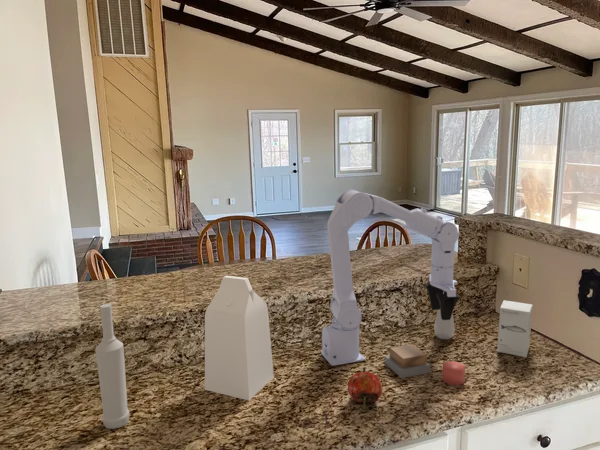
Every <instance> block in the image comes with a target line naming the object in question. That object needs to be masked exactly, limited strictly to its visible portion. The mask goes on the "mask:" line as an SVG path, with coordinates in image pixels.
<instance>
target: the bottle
mask: <svg viewBox="0 0 600 450" xmlns="http://www.w3.org/2000/svg"><path fill="white" fill-rule="evenodd" d="M112 309H113V307H112V304H111V303H106V304H101V305H100V306H99V310H100V317H101V319H100V320H101V327H102V338H101V342H100V343H98V345H96V346H95V357H96V366H97V367H96V368H97V373H98V381H99V389H100V390H99V391H100V397H101V398H100V399H101V407H102V413H103V414H102V418H101V419H102V424H103V426H104V427H105V428H106V429H109V430H111V429H112V430H115V429H119V428H121V427H124V426H126V424H127V423H128V422H129V420H130V419H129V418H130V410H129V408H128V398H127V396H128V395H127V383H126V382H127V380H126V366H125V351H124V343H123V342H122V341H120V340H118V338H117V337H116V336H115V334H114V324H113V310H112Z"/></svg>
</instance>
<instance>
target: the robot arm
mask: <svg viewBox="0 0 600 450" xmlns="http://www.w3.org/2000/svg"><path fill="white" fill-rule="evenodd" d="M379 213H382V214H385V215H387V216H391V217H393V218H395V219H398V220H400V221H403V222H405V225H406V227H407V229H408V230H411V231H413V232H416V233H418V234H420V235H422V236H425V237H427V238H430V239H431V259H430V264H431V265H430V274H428V282H429V283H424V288H426V291H427V294H428V297H429V301H430V302H429V303H430V307H431V310H432V311H438V310H440V312H441V318H442V320H450V319H451V316H452V314H453V313H454V309H455V306H456V304H457V302H458V301H459V300H460V298H461V296H460V295H459V294H458V293H457V289H456V287H455V285H458V281H457V280H455V279H454V266H455V263H454V262H455V248H456V247H455V245H456V242H457V241H458V240H459V238H460V234H461V233H460V232H459V230H458V227H457V226H456V224H454V223H453V222H451V221H448V220H444V219H443V216H441V215H437V216H436V215H433V214H432V213H429V212H428V210H427V209H425V208H423V207H421V208H418V207H417V208H414V209H411V210H409V209H408V208H405V207H403V206H400V204H396V203H395V202H392V201H390V200H388V199H386V198H384V197H381V196H378V195H375V194H370V193H367V192H363V191H362V192H360V191H358V190H357V189H351V188H350V189H347V190H345V191H344V192H343V193H342V194H341V195H339V196H338V198H337V199H336V200H335V205H334V207H333V210H332V211H331V213H330V216H329V218H328V220H327V227H326V228H327V235H328V236H327V237H328V246H329V253H330V254H329V255H330V265H331V272H332V273H331V276H332V284H333V290H332V292H331V293H332V298H331V301H330V306H329V309H330V312H331V314H332V315H333V318H332V320H331V324H330V325H328V326H326V327H323V328H322V330H321V349H322V350H321V352H320V354H321V355H322V356H323V357H324V359H325V360H326V361H327V362H328V363H329V364H330V366H333V367H334V366H340V365H341V366H342V365H345V364H346V365H347V364H350V363H357V362H363V361H365V360H366V357H364V355H362V353H360V324H361V321H362V319H363V317H362V313H361V310H360V309H359V307H358V301H357V298H356V295H355V291H354V284H353V283H354V282H353V274H352V273H353V272H352V262H351V252H350V242H349V240H350V239H349V230H350V229H351V228H352V227H353V226H354V225H355V224H356V223H357V222H359V221H361V220H363V219H365V218H366V217H368V216H369V215H370V214H372V215H375V214H379ZM443 292H444V294H443Z"/></svg>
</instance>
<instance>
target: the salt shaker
mask: <svg viewBox="0 0 600 450" xmlns="http://www.w3.org/2000/svg"><path fill="white" fill-rule="evenodd" d="M443 294H444V292H443ZM436 313H437V314H436V317H435V322H434V326H433V330H434V333H435V335H436V338H437V339H440V340H450V339H452V338H453V336H454V334H455V331H456V328H455V322H454V315H453V313H452V316H451V319H450V320H442V318H441V312H440V310H437V312H436Z"/></svg>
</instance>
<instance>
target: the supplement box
mask: <svg viewBox="0 0 600 450" xmlns="http://www.w3.org/2000/svg"><path fill="white" fill-rule="evenodd" d="M533 306H534V304H531V303H527V302H526V303H524V302H518V301H512V300H505V299H504V300H503V301H502V303H501V305H500V308H499V320H498V322H499V323H498V335H497V336H498V337H497V347H496V348H497V350H496V351H497V353H504V354H509V355H514V356H518V357H523V358H527V357H528V354H529V349H530V339H531V329H532V328H531V327H532V317H533V316H532V314H533Z"/></svg>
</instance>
